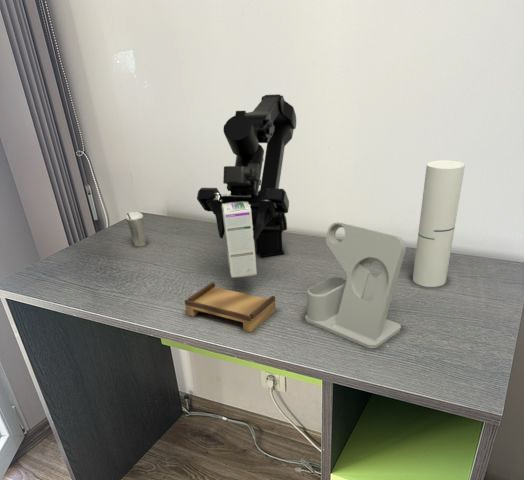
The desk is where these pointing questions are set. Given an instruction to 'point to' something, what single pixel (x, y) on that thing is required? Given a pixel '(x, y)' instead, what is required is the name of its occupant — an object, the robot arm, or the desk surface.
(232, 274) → the syrup box
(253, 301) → the wooden tray
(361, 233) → the phone holder
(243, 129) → the robot arm
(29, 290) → the desk surface
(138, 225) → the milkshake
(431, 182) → the cylindrical container
